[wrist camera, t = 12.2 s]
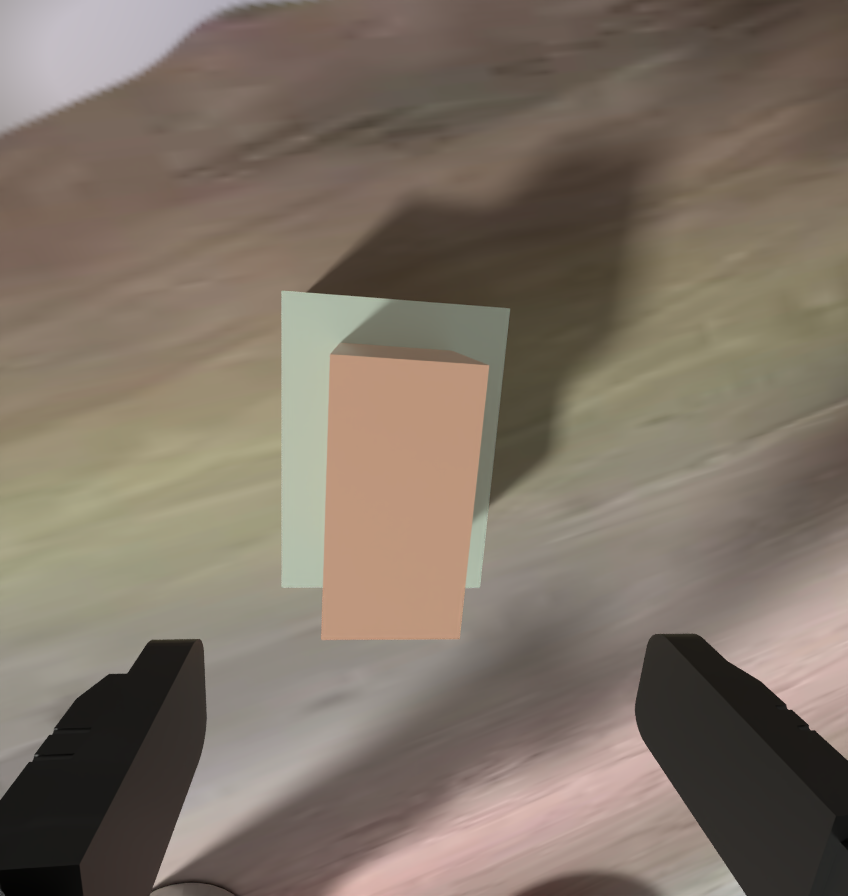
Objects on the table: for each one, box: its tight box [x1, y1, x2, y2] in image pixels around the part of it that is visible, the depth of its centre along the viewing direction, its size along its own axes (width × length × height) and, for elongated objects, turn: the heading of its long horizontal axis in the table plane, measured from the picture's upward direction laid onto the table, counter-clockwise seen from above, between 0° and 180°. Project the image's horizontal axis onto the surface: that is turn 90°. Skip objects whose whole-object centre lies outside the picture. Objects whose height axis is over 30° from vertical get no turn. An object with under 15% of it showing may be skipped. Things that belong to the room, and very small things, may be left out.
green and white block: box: [282, 291, 510, 588], centre depth 27 cm, size 14×10×7 cm
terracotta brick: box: [321, 343, 489, 640], centre depth 20 cm, size 5×10×7 cm, turn 175°
